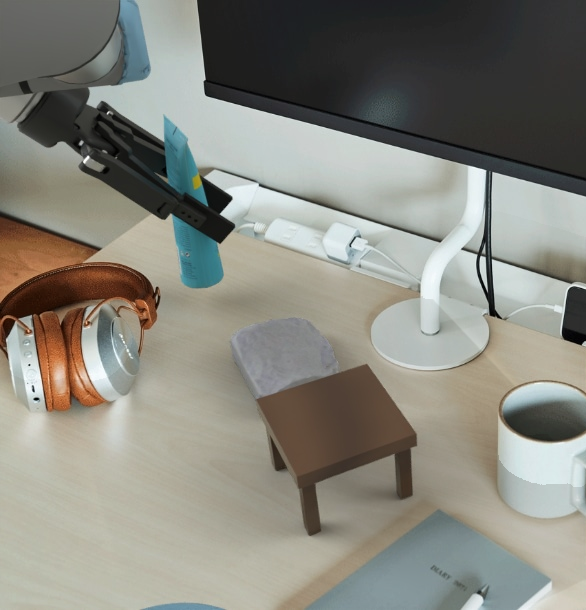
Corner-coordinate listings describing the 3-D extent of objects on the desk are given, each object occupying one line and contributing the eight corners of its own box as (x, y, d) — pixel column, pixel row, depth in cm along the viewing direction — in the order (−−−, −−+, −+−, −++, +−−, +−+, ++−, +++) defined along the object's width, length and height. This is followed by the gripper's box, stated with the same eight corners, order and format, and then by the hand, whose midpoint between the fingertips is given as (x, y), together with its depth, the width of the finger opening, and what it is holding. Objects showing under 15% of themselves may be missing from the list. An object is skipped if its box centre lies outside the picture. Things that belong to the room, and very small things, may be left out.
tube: (236, 284, 107) (210, 131, 96) (197, 299, 105) (166, 144, 94) (207, 258, 112) (179, 109, 101) (169, 271, 110) (137, 120, 99)
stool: (306, 541, 81) (296, 476, 76) (266, 461, 89) (255, 399, 84) (419, 496, 85) (416, 433, 81) (371, 424, 93) (367, 363, 88)
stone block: (308, 344, 106) (222, 356, 101) (313, 309, 104) (225, 320, 99) (349, 407, 98) (259, 424, 93) (356, 371, 96) (263, 387, 91)
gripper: (26, 89, 101) (204, 204, 114) (-1, 164, 86) (208, 287, 99) (65, 37, 99) (242, 160, 112) (45, 105, 84) (252, 238, 97)
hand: (226, 219), depth 105 cm, fingers closed on tube, 6 cm apart
